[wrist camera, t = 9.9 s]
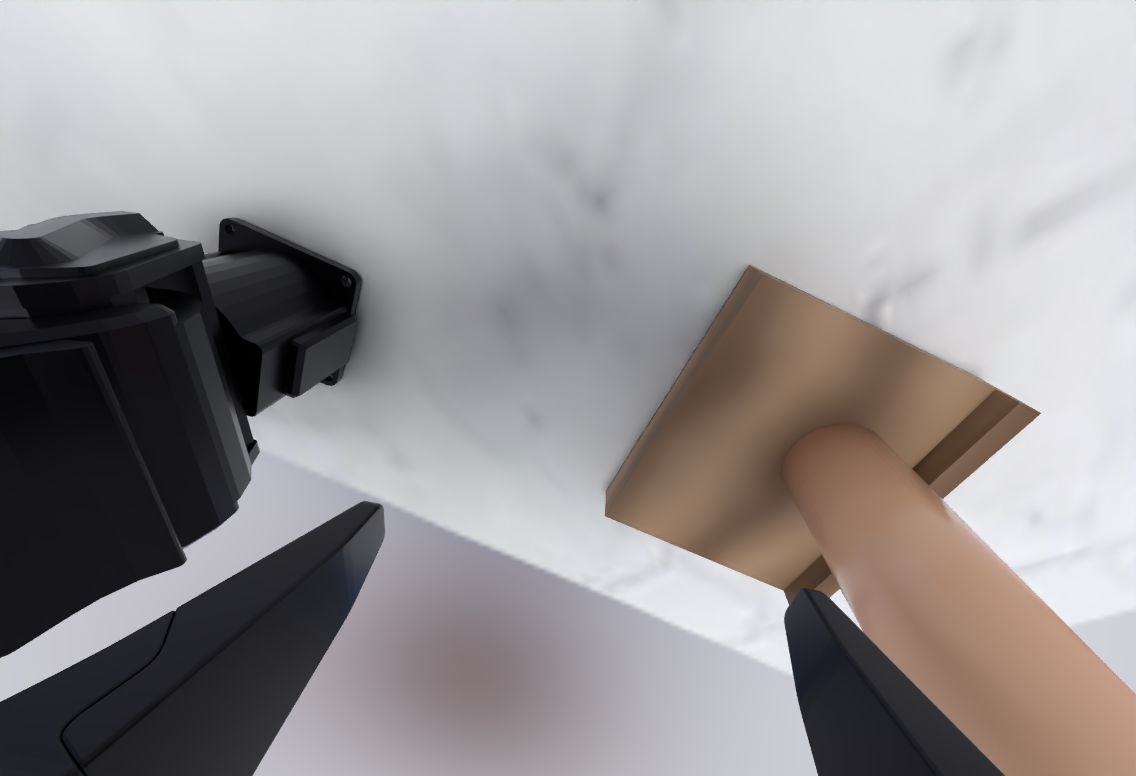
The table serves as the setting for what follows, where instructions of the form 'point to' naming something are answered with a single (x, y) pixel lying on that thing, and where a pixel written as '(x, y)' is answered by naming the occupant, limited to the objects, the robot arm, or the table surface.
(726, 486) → the shelf board
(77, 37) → the table surface
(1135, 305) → the table surface
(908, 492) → the tan round cylinder
